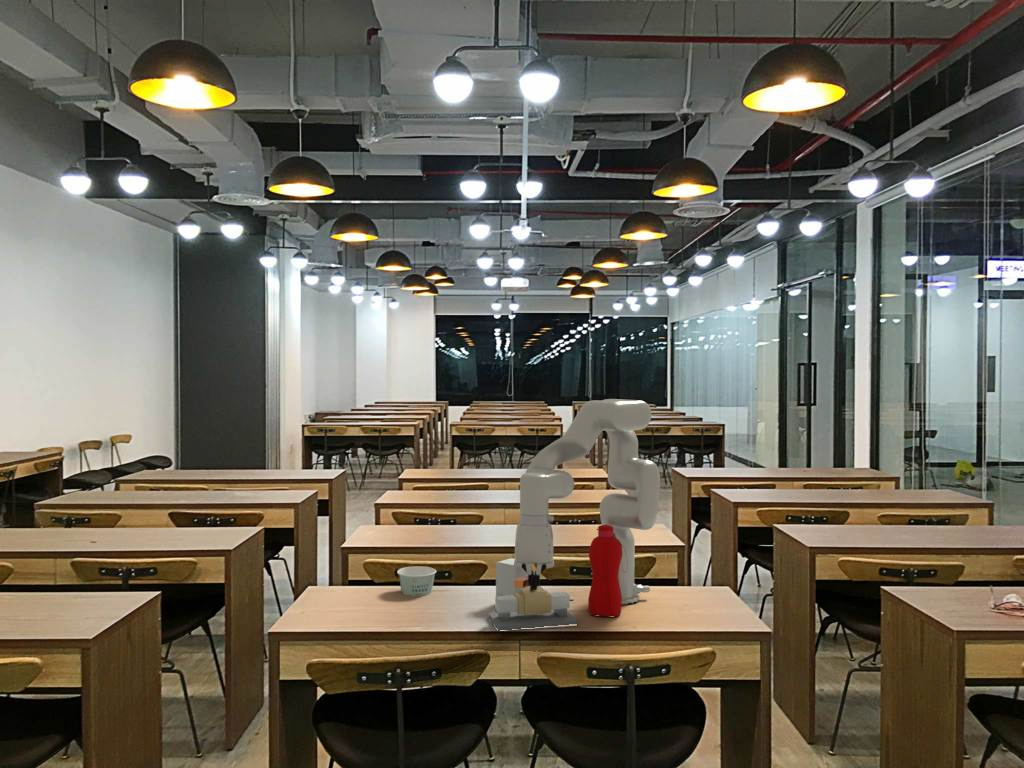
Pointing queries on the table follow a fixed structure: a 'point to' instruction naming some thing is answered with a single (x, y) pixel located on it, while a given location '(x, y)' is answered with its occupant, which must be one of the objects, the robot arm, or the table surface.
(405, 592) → the food container
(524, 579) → the valve lever
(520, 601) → the pipe valve
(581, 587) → the table surface
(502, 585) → the supplement box
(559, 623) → the mounting board
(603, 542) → the water bottle
